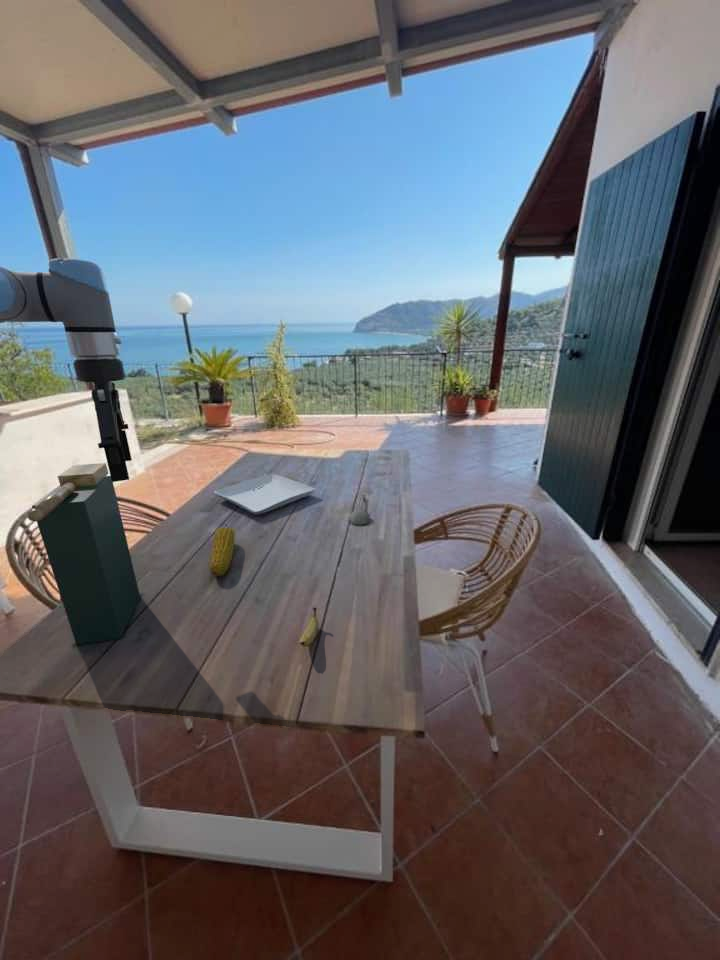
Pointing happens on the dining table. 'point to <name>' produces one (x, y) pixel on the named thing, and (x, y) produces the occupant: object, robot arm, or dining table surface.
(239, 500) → the square plate
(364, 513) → the soupspoon
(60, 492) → the wooden mallet
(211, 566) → the food
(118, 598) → the stand
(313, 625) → the banana
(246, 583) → the dining table surface
